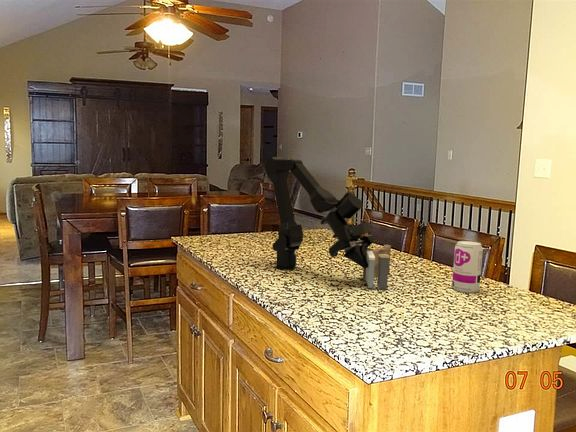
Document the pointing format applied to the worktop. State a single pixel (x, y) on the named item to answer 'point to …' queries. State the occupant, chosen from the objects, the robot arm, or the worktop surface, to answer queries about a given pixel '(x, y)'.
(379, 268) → the stile
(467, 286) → the supplement can
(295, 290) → the worktop surface
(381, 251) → the fence
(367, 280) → the cream flat slab
